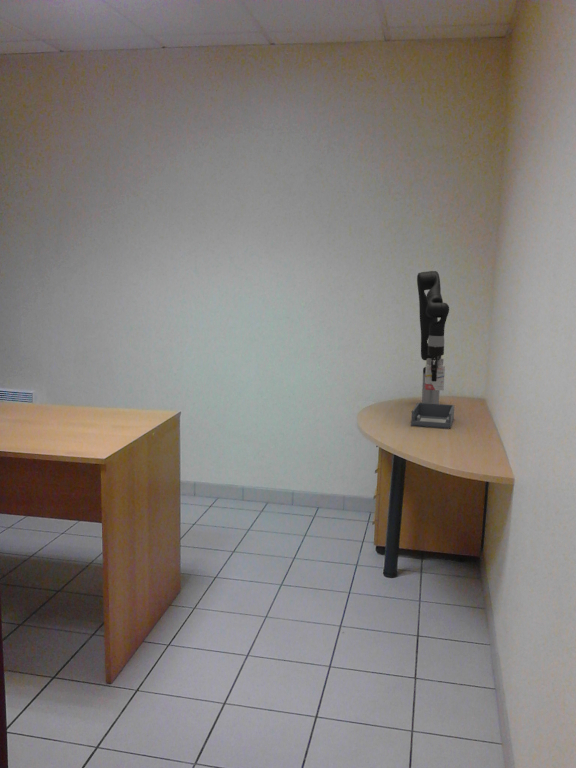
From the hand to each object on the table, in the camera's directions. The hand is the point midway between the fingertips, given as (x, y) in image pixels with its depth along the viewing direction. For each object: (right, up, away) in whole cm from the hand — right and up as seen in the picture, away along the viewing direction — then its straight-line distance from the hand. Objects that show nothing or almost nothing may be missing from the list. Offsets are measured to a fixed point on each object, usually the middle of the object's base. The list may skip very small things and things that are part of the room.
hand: (434, 380), depth 310 cm
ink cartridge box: (0, -5, +1) cm, 5 cm away
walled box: (0, -20, +3) cm, 21 cm away
